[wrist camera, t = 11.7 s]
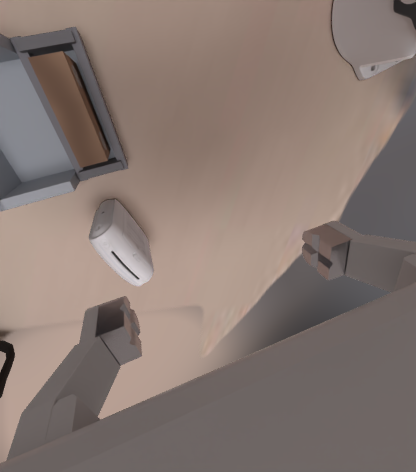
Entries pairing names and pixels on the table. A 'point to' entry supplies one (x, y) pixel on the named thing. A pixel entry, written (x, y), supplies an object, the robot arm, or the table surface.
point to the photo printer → (121, 243)
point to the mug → (6, 363)
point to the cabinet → (43, 123)
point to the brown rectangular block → (72, 106)
